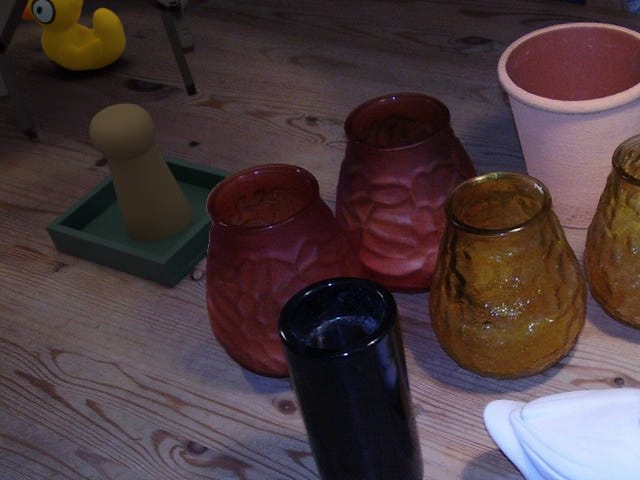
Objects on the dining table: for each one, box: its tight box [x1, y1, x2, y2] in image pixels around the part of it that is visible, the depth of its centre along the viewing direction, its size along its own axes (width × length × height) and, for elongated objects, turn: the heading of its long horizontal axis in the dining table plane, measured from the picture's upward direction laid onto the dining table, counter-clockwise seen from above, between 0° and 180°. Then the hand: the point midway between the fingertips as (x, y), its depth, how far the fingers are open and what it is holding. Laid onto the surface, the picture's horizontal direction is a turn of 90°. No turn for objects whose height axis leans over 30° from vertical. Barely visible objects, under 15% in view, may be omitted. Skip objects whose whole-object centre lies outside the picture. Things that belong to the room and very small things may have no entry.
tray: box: [45, 154, 234, 288], centre depth 89 cm, size 14×13×3 cm
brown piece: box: [88, 103, 193, 242], centre depth 86 cm, size 6×6×11 cm
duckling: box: [21, 0, 127, 72], centre depth 109 cm, size 11×5×10 cm, turn 86°
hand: (112, 112), depth 84 cm, fingers open, 13 cm apart
